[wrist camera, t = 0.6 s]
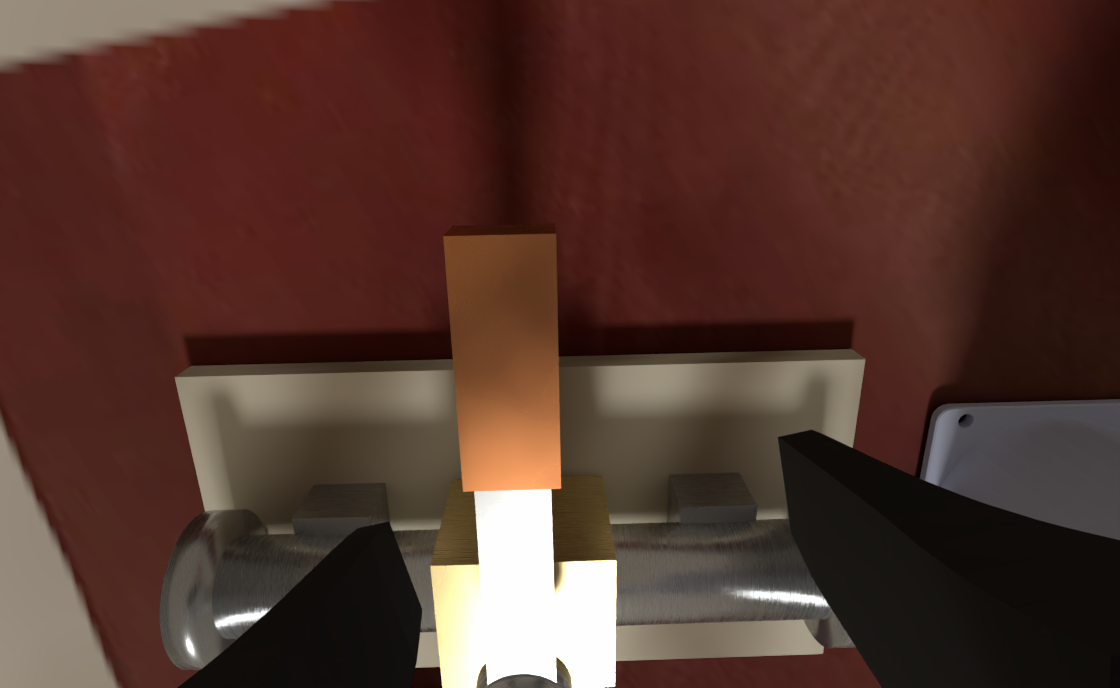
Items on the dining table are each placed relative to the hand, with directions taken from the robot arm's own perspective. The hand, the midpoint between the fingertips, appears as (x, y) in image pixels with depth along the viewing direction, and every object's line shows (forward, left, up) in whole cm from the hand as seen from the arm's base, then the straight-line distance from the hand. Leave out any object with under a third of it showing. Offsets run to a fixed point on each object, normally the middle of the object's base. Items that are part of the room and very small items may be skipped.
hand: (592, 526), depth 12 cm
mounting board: (+2, +6, -10) cm, 12 cm away
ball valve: (+2, +6, -10) cm, 12 cm away
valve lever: (+2, +1, -3) cm, 3 cm away
